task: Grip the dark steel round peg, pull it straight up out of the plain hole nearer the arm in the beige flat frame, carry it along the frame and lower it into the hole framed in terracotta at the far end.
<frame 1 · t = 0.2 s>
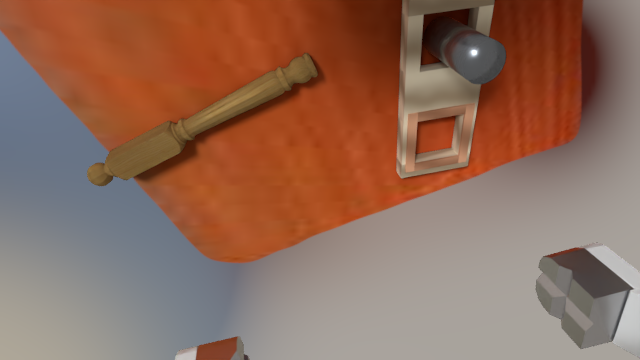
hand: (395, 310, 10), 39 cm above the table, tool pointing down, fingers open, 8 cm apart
turned wooden spindle: (199, 116, 47), on the table
steel peg: (440, 35, 47), resting in beige flat frame
beige flat frame: (436, 87, 51), on the table
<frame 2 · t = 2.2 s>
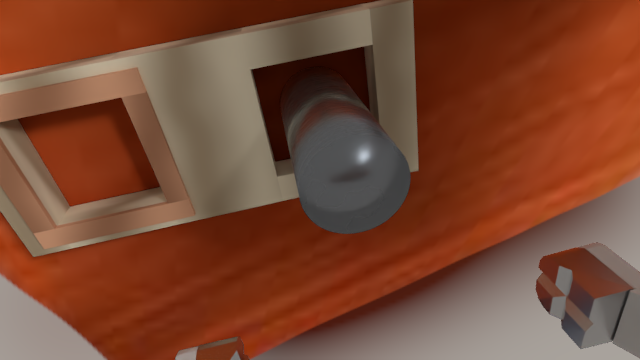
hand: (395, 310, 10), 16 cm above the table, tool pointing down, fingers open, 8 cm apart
steel peg: (316, 103, 24), resting in beige flat frame
beige flat frame: (209, 126, 23), on the table
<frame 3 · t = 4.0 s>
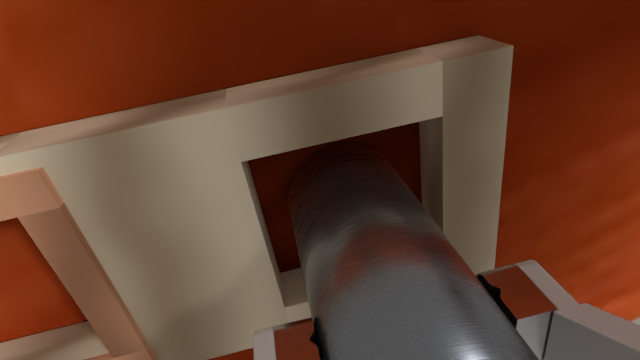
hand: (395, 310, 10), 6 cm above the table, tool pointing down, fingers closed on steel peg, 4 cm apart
steel peg: (342, 193, 16), resting in beige flat frame, touching gripper
beige flat frame: (179, 231, 15), on the table
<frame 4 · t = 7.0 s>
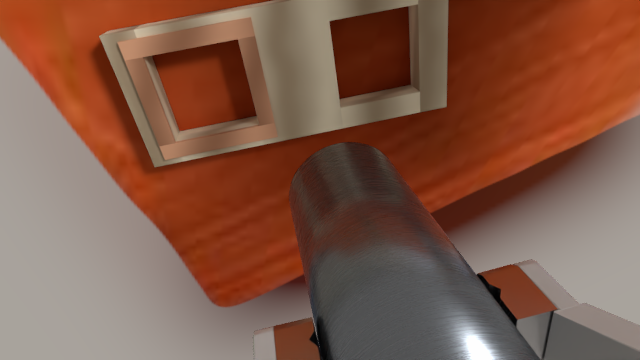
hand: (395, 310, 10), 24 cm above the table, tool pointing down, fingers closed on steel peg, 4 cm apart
steel peg: (344, 193, 16), point 18 cm above the table, touching gripper
beige flat frame: (289, 68, 31), on the table
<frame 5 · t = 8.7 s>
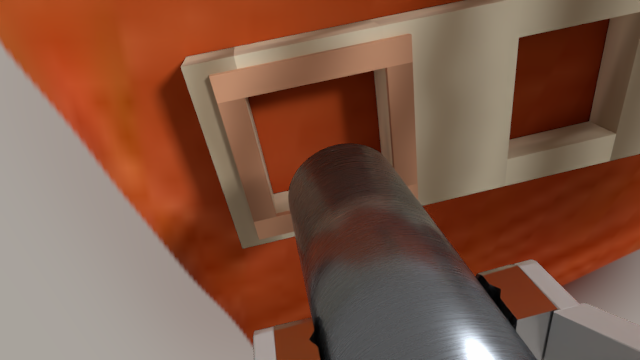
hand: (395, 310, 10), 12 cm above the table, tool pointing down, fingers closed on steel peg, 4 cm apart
steel peg: (343, 194, 16), point 6 cm above the table, touching gripper
beige flat frame: (435, 104, 21), on the table
when the fingers open (7 cm above the table, at t = 10.2 s): steel peg stays where it is, resting in beige flat frame.
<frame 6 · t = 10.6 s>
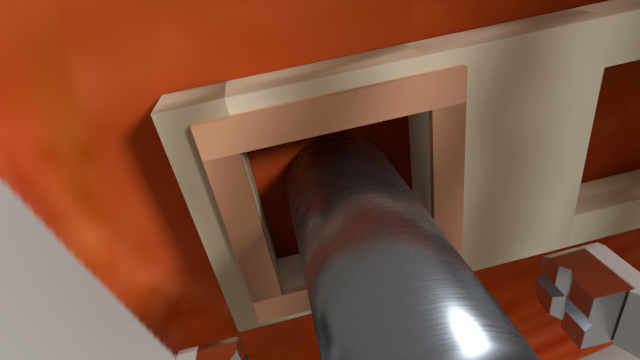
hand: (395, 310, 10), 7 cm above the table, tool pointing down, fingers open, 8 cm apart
steel peg: (338, 181, 16), resting in beige flat frame
beige flat frame: (482, 147, 17), on the table
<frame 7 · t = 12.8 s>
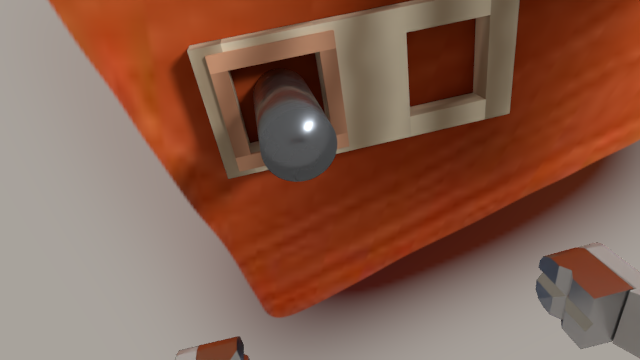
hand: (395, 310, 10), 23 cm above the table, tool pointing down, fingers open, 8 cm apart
steel peg: (281, 96, 31), resting in beige flat frame
beige flat frame: (360, 79, 31), on the table
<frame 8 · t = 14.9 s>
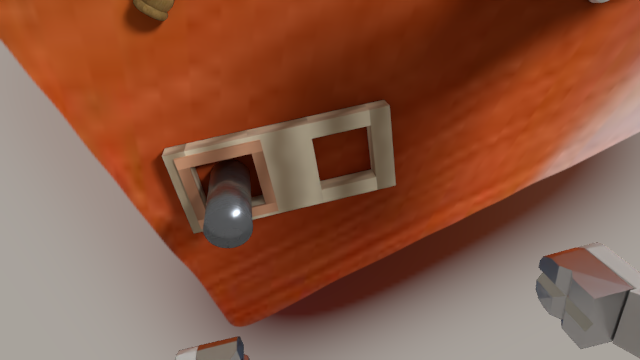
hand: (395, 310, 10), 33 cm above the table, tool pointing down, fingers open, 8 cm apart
steel peg: (230, 176, 44), resting in beige flat frame
beige flat frame: (286, 163, 45), on the table
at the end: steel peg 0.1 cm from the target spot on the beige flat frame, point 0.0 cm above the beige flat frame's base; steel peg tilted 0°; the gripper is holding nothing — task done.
